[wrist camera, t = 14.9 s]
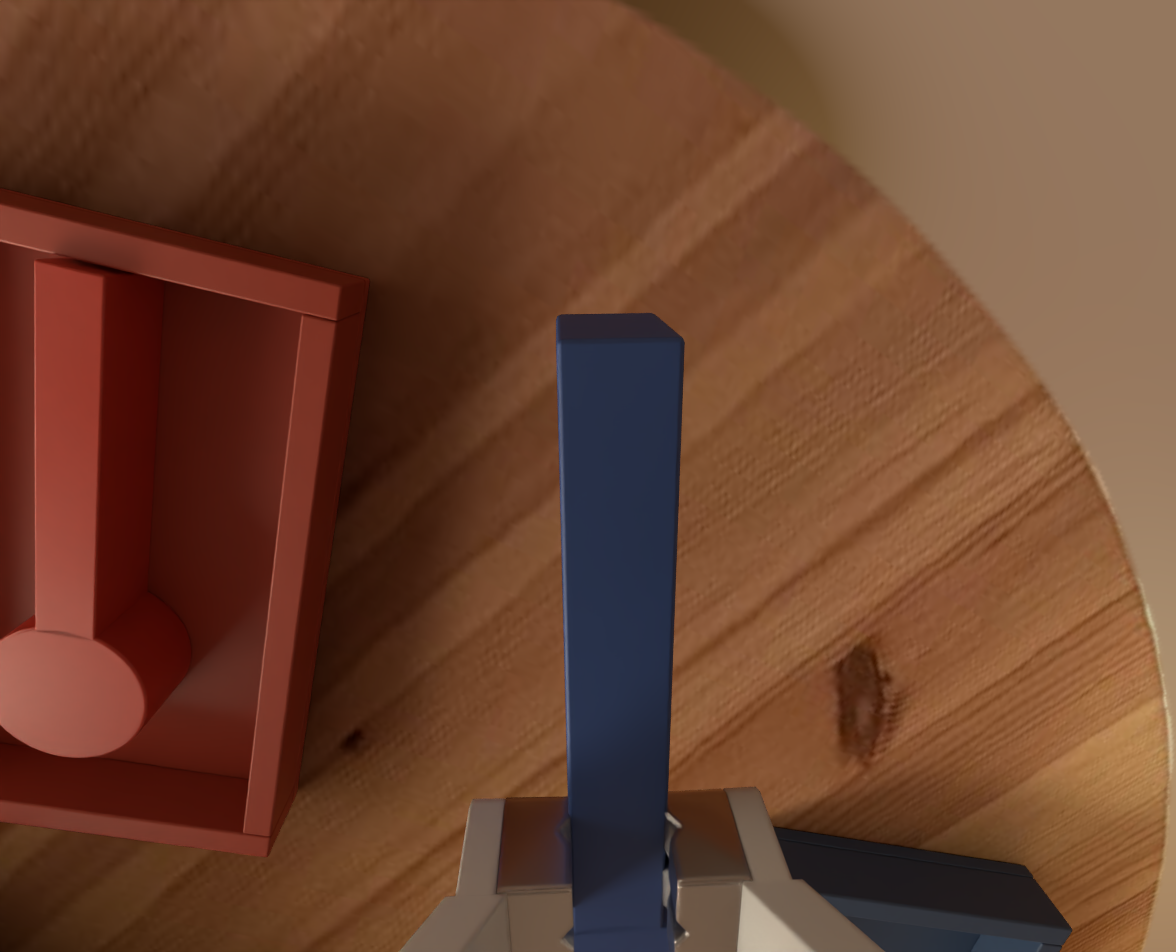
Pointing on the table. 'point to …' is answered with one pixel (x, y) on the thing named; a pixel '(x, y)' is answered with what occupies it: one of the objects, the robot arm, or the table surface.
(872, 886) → the blue tray
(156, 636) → the red spoon
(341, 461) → the red tray
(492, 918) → the robot arm
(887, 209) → the table surface
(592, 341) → the blue spoon
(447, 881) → the table surface
